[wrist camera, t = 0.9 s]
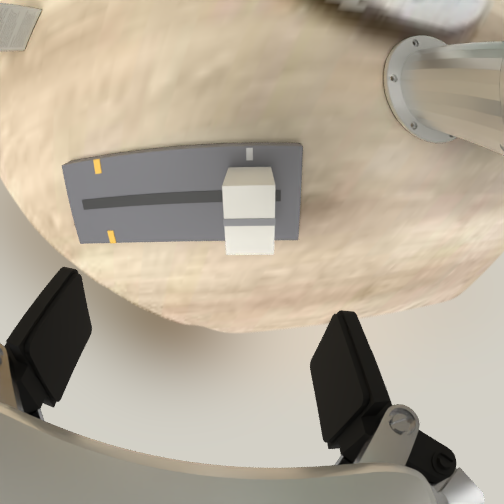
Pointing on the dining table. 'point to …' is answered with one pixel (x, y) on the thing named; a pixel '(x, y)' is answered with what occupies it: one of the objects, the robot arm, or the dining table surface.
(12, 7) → the skincare box
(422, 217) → the dining table surface
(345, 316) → the robot arm
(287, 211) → the slider panel
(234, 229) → the fader tab
